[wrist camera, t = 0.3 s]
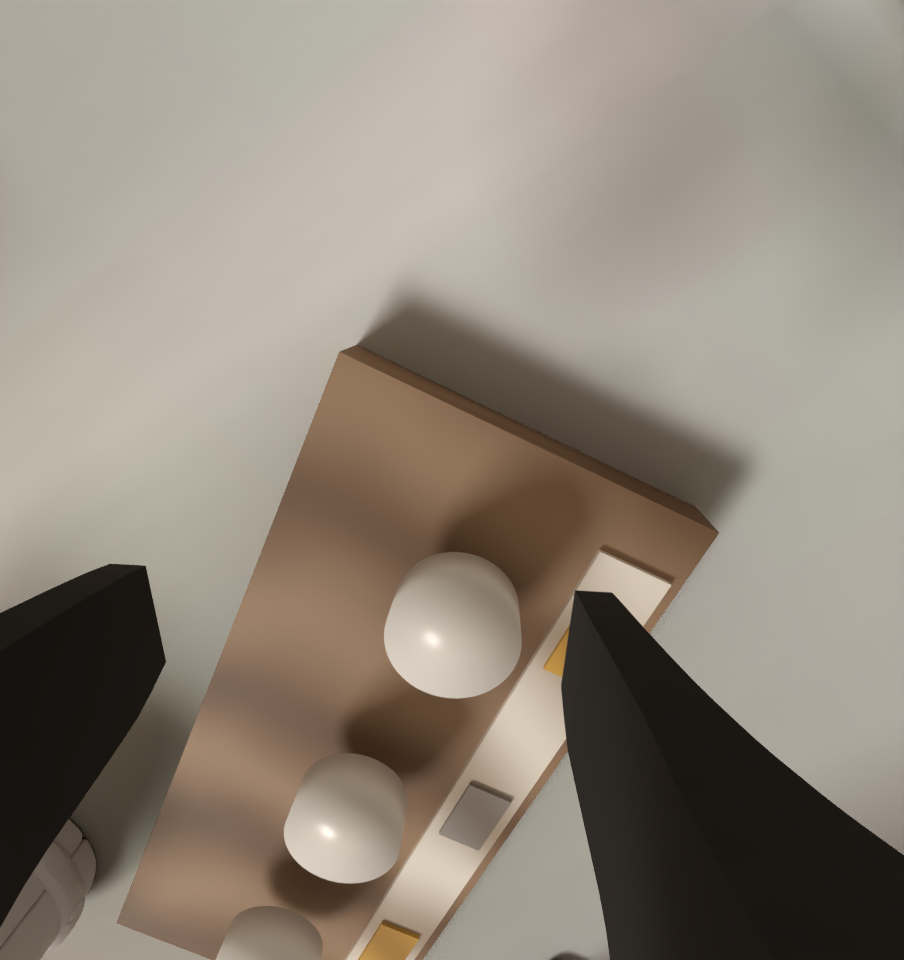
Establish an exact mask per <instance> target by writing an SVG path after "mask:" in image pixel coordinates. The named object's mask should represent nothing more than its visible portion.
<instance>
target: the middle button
mask: <svg viewBox="0 0 904 960" xmlns="http://www.w3.org/2000/svg"><path fill="white" fill-rule="evenodd" d="M407 804H408V797H407V792H406V789H405V786H404V784H403V783H402V781H401V779H400V778H399V777H398V775H397V774H396V773H395V772H394V771H393V770H392V769H390V768H389V767H388V766H387V765H385V764H383V763H382V762H380V761H378V760H376V759H373V758H371V757H368V756H364V755H360V754H352V753H343V754H335V755H331V756H327V757H325V758H322V759H320V760H319V761H317V762H315V763H314V764H313V765H312V766H311V767H310V768H309V769H308V770H307V771H306V773H305V775H304V776H303V779H302V782H301V784H300V787H299V789H298V792H297V794H296V797H295V799H294V802H293V804H292V807H291V810H290V812H289V815H288V817H287V820H286V822H285V826H284V840H285V843H286V846H287V848H288V850H289V852H290V854H291V855H292V857H293V858H294V859H295V860H296V861H297V863H299V864H300V865H301V866H302V867H303V868H305V869H306V870H307V871H309V872H311V873H312V874H314V875H316V876H318V877H320V878H323V879H326V880H329V881H333V882H338V883H349V884H351V883H362V882H367V881H371V880H374V879H376V878H378V877H380V876H382V875H384V874H385V873H386V872H388V871H389V870H390V869H391V868H392V867H393V865H394V864H395V862H396V860H397V858H398V856H399V852H400V846H401V840H402V835H403V829H404V823H405V817H406V811H407Z"/></svg>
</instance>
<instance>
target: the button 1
mask: <svg viewBox="0 0 904 960" xmlns="http://www.w3.org/2000/svg"><path fill="white" fill-rule="evenodd" d="M322 950H323V942H322V938H321V936H320V934H319V932H318V930H317V929H316V928H315V926H314V925H313V924H312V923H311V922H310V921H308V920H307V919H306V918H304V917H303V916H301V915H299V914H298V913H295V912H293V911H291V910H288V909H285V908H281V907H275V906H257V907H252V908H249V909H246V910H244V911H242V912H240V913H239V914H238V915H236V917H235V918H234V919H233V920H232V922H231V924H230V926H229V929H228V931H227V934H226V936H225V938H224V941H223V943H222V946H221V948H220V950H219V953H218V955H217V958H216V960H320V958H321V954H322Z"/></svg>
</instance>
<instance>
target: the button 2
mask: <svg viewBox="0 0 904 960" xmlns="http://www.w3.org/2000/svg"><path fill="white" fill-rule="evenodd" d="M384 644H385V649H386V652H387V655H388V658H389V660H390V662H391V664H392V665H393V667H394V668H395V670H396V671H397V672H398V673H399V674H400V675H401V677H402V678H403V679H405V680H406V681H407V682H408V683H409V684H411V685H413V686H414V687H416V688H417V689H419V690H421V691H423V692H426V693H428V694H431V695H435V696H439V697H444V698H468V697H474V696H477V695H480V694H483V693H486V692H488V691H490V690H492V689H494V688H495V687H497V686H498V685H500V684H501V683H502V682H503V681H504V680H505V679H506V678H507V677H508V676H509V675H510V674H511V672H512V671H513V670H514V668H515V666H516V664H517V662H518V659H519V656H520V652H521V644H522V638H521V624H520V611H519V602H518V597H517V593H516V591H515V588H514V586H513V584H512V583H511V581H510V580H509V578H508V577H507V576H506V574H505V573H504V572H503V571H502V570H501V569H499V568H498V567H497V566H496V565H494V564H493V563H491V562H490V561H488V560H486V559H484V558H482V557H479V556H476V555H473V554H469V553H462V552H446V553H440V554H435V555H432V556H430V557H427V558H425V559H423V560H421V561H419V562H418V563H416V564H415V565H414V566H412V567H411V568H410V569H409V570H408V571H407V572H406V574H405V575H404V576H403V577H402V579H401V581H400V583H399V585H398V587H397V590H396V593H395V596H394V599H393V602H392V605H391V608H390V611H389V614H388V617H387V620H386V624H385V628H384Z"/></svg>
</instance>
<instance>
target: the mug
mask: <svg viewBox="0 0 904 960" xmlns="http://www.w3.org/2000/svg"><path fill="white" fill-rule="evenodd" d="M95 872H96V858H95V855H94V852H93V849H92V847H91V845H90V843H89V842H88V840H87V839H83V840H82V832H81V831H80V830H79V828H78V827H77V826H76V825H75V824H73V823H72V822H71V821H70V820H69V819H68V821H67V822H66V824H65V825H64V826H63V828H62V829H61V831H60V832H59V834H58V835H57V837H56V838H55V840H54V841H53V842H52V844H51V845H50V847H49V848H48V850H47V851H46V853H45V854H44V856H43V857H42V859H41V860H40V862H39V864H38V865H37V867H36V868H35V870H34V871H33V873H32V875H31V876H30V878H29V879H28V881H27V882H26V884H25V885H24V887H23V889H22V891H21V892H20V894H19V896H18V898H17V899H16V901H15V903H14V905H13V906H12V908H11V910H10V912H9V913H8V915H7V917H6V919H5V920H4V922H3V924H2V926H1V927H0V960H40V959H41V958H42V956H43V955H45V954H47V953H48V952H50V951H51V950H53V949H55V948H56V947H57V946H58V945H59V944H61V943H62V942H63V940H64V939H65V938H66V937H67V935H68V934H69V933H70V931H71V930H72V929H73V927H74V926H75V924H76V922H77V920H78V919H79V917H80V915H81V913H82V910H83V907H84V903H85V896H86V895H87V893H88V892H89V890H90V888H91V886H92V884H93V880H94V875H95Z"/></svg>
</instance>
